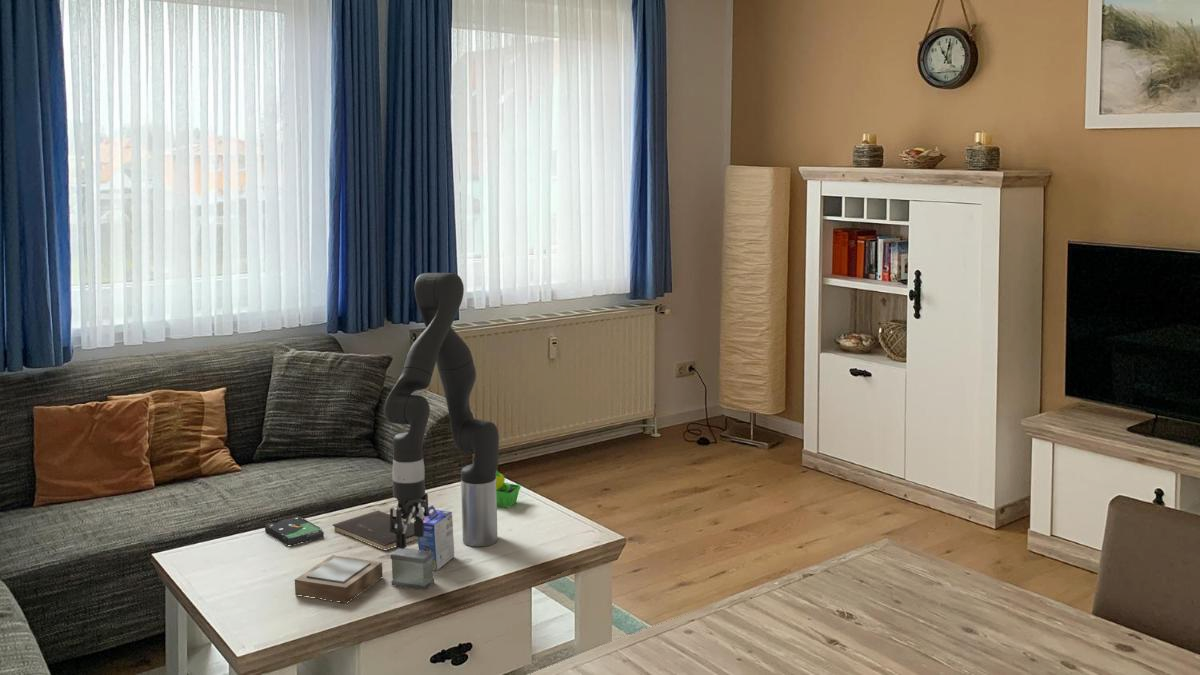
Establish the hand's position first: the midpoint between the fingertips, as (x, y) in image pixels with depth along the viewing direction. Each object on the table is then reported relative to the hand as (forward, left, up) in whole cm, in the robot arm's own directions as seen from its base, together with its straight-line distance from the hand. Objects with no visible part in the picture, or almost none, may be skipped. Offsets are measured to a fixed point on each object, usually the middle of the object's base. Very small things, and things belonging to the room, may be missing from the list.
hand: (410, 542), depth 260 cm
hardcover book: (-28, -25, -12) cm, 39 cm away
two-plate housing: (0, 0, -11) cm, 11 cm away
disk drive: (-19, -47, -12) cm, 52 cm away
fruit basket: (-60, -5, -11) cm, 61 cm away
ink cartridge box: (-14, -1, -11) cm, 18 cm away
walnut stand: (+7, -16, -11) cm, 20 cm away
